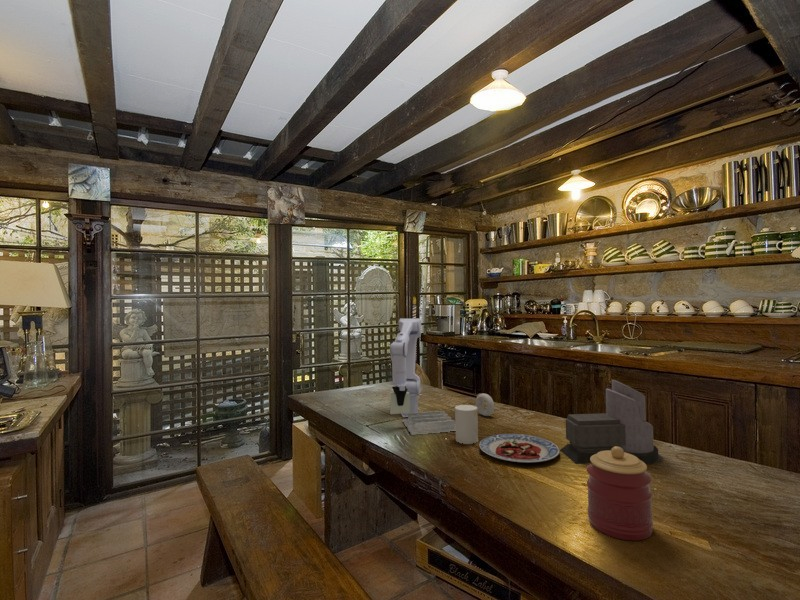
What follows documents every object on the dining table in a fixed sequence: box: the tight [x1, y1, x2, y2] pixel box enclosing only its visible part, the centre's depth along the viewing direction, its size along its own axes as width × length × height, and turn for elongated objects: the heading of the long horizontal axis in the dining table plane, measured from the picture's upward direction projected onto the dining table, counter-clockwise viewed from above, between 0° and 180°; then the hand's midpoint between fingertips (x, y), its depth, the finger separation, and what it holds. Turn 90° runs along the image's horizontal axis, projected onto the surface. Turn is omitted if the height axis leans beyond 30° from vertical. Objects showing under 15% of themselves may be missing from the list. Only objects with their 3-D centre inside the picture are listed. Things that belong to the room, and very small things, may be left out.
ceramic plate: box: [478, 433, 560, 463], centre depth 136 cm, size 26×26×3 cm
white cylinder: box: [454, 404, 479, 445], centre depth 149 cm, size 8×8×12 cm
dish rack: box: [402, 410, 456, 436], centre depth 166 cm, size 18×20×4 cm
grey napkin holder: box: [559, 379, 664, 465], centre depth 131 cm, size 30×16×24 cm, turn 92°
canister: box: [586, 446, 654, 542], centre depth 91 cm, size 13×13×18 cm
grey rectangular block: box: [389, 392, 410, 415], centre depth 165 cm, size 2×8×8 cm, turn 99°
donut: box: [475, 393, 495, 417], centre depth 179 cm, size 10×3×10 cm, turn 35°
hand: (400, 404), depth 165 cm, fingers closed on grey rectangular block, 2 cm apart
